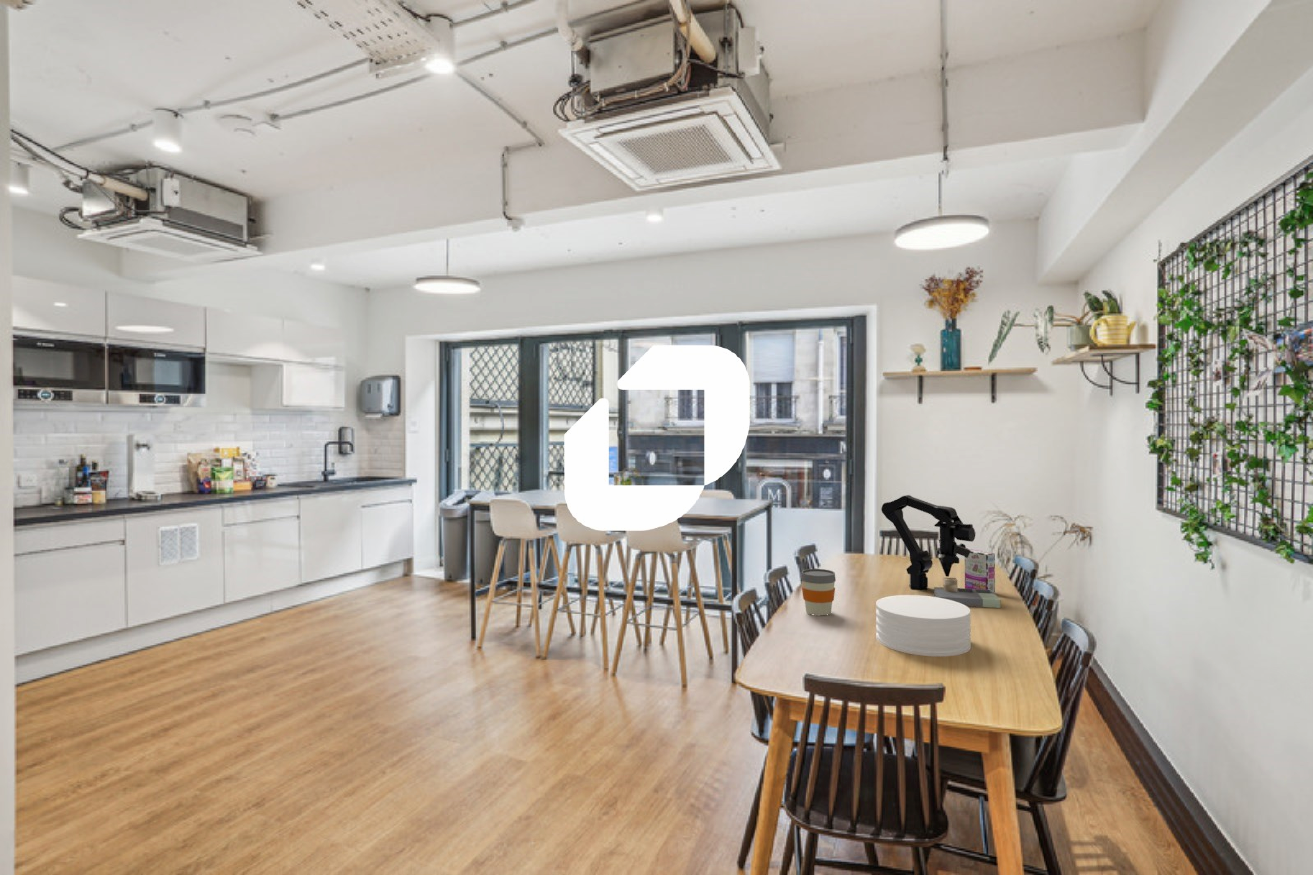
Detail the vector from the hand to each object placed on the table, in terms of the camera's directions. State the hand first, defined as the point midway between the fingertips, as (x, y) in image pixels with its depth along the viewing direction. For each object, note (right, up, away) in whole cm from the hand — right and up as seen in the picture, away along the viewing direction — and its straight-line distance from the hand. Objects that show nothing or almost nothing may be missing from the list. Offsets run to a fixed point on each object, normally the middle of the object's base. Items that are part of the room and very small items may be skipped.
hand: (947, 576), depth 269 cm
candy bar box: (+15, -7, +4) cm, 17 cm away
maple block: (-2, -4, -6) cm, 8 cm away
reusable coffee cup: (-59, -8, -25) cm, 64 cm away
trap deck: (+2, -7, -11) cm, 14 cm away
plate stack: (-34, -9, -59) cm, 68 cm away
